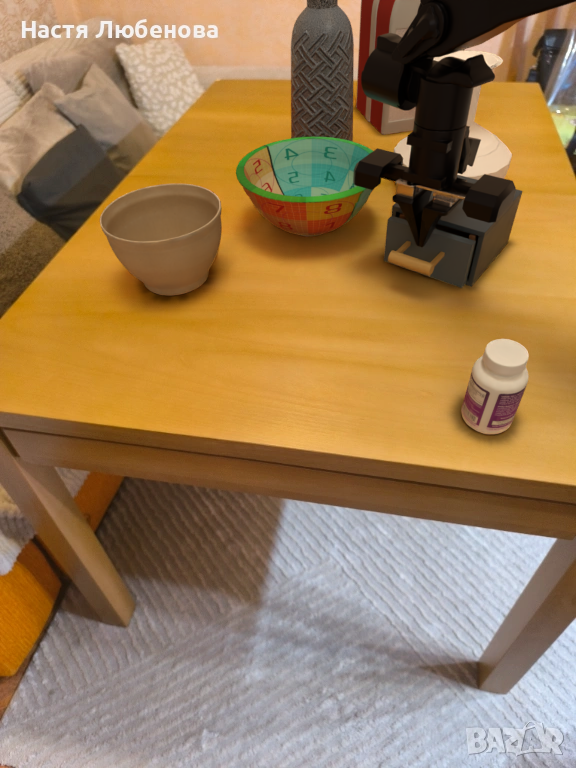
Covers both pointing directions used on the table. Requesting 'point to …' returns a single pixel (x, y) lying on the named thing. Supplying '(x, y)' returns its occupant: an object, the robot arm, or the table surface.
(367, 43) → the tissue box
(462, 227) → the cabinet
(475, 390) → the pill bottle
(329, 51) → the vase
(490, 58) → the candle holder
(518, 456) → the table surface
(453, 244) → the drawer
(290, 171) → the bowl
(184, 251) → the planter bowl
